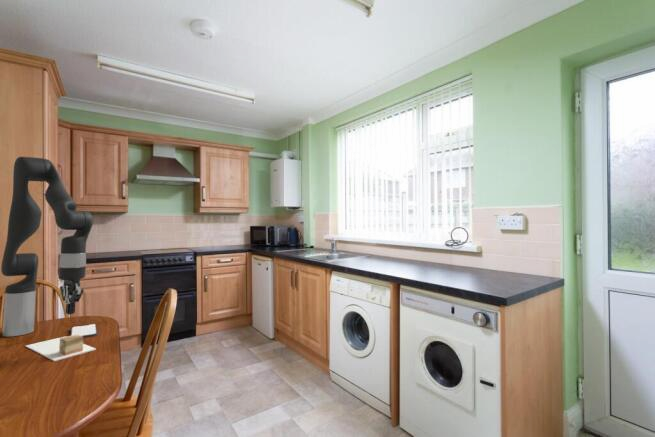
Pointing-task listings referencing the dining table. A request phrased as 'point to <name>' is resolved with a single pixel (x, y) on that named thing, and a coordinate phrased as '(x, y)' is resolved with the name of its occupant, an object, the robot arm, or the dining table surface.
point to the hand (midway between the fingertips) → (70, 313)
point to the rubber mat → (55, 349)
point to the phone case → (85, 330)
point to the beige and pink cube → (71, 344)
